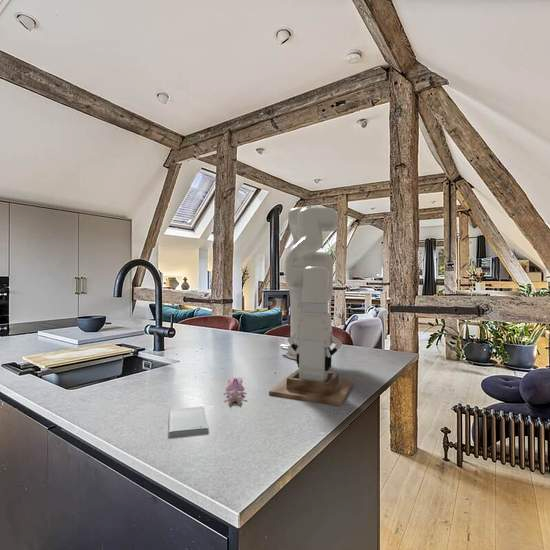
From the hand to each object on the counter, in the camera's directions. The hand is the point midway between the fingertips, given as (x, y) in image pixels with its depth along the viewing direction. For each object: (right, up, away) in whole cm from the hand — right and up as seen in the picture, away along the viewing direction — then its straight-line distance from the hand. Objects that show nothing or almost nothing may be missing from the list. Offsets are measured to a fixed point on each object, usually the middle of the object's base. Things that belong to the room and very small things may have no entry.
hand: (313, 367), depth 105 cm
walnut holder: (0, -6, 0) cm, 6 cm away
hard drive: (-31, -7, -25) cm, 40 cm away
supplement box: (0, -4, 0) cm, 4 cm away
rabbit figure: (-22, -6, -7) cm, 24 cm away
